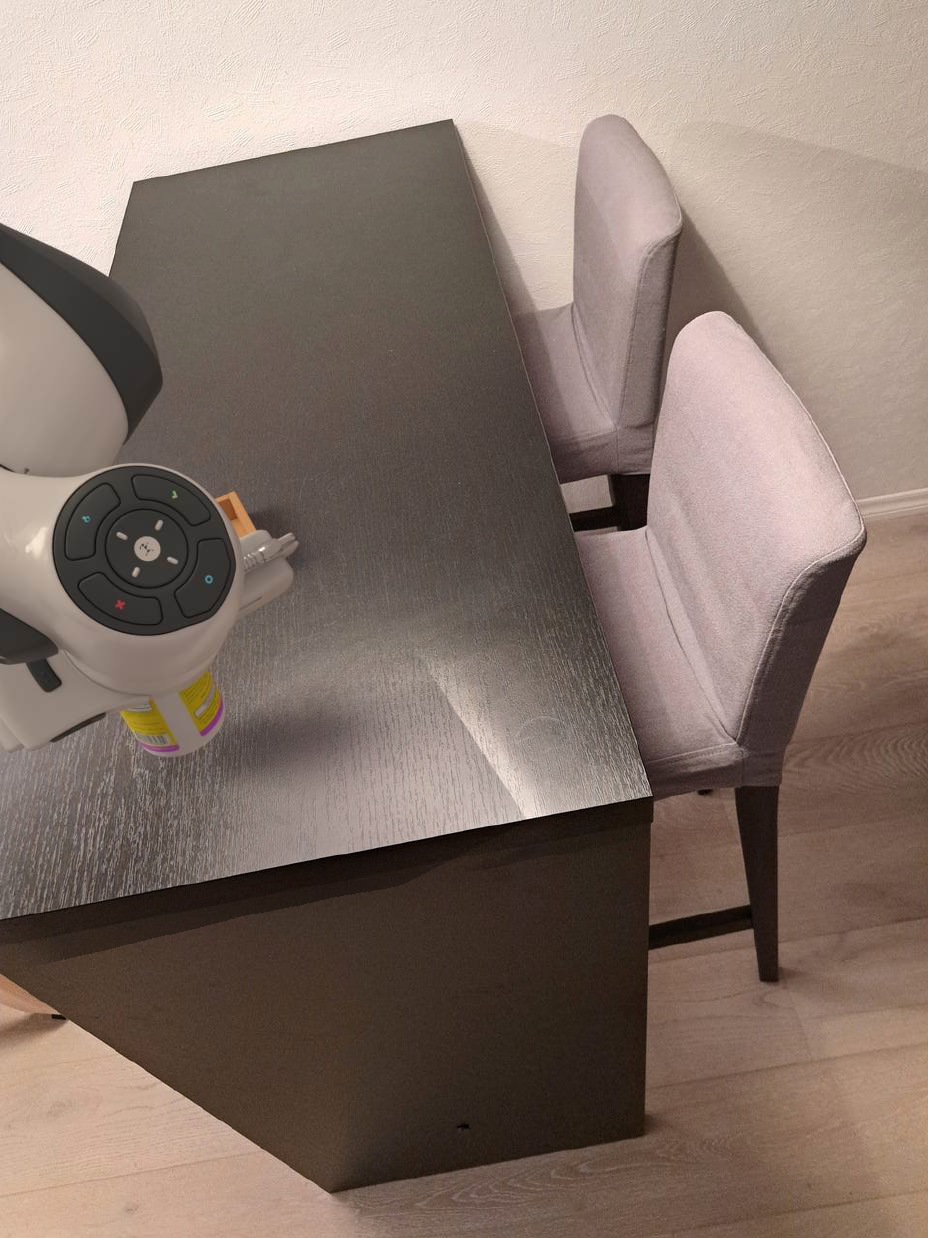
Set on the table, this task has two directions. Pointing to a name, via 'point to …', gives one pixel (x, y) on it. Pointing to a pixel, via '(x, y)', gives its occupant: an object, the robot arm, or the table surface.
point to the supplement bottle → (179, 719)
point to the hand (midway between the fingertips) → (142, 654)
